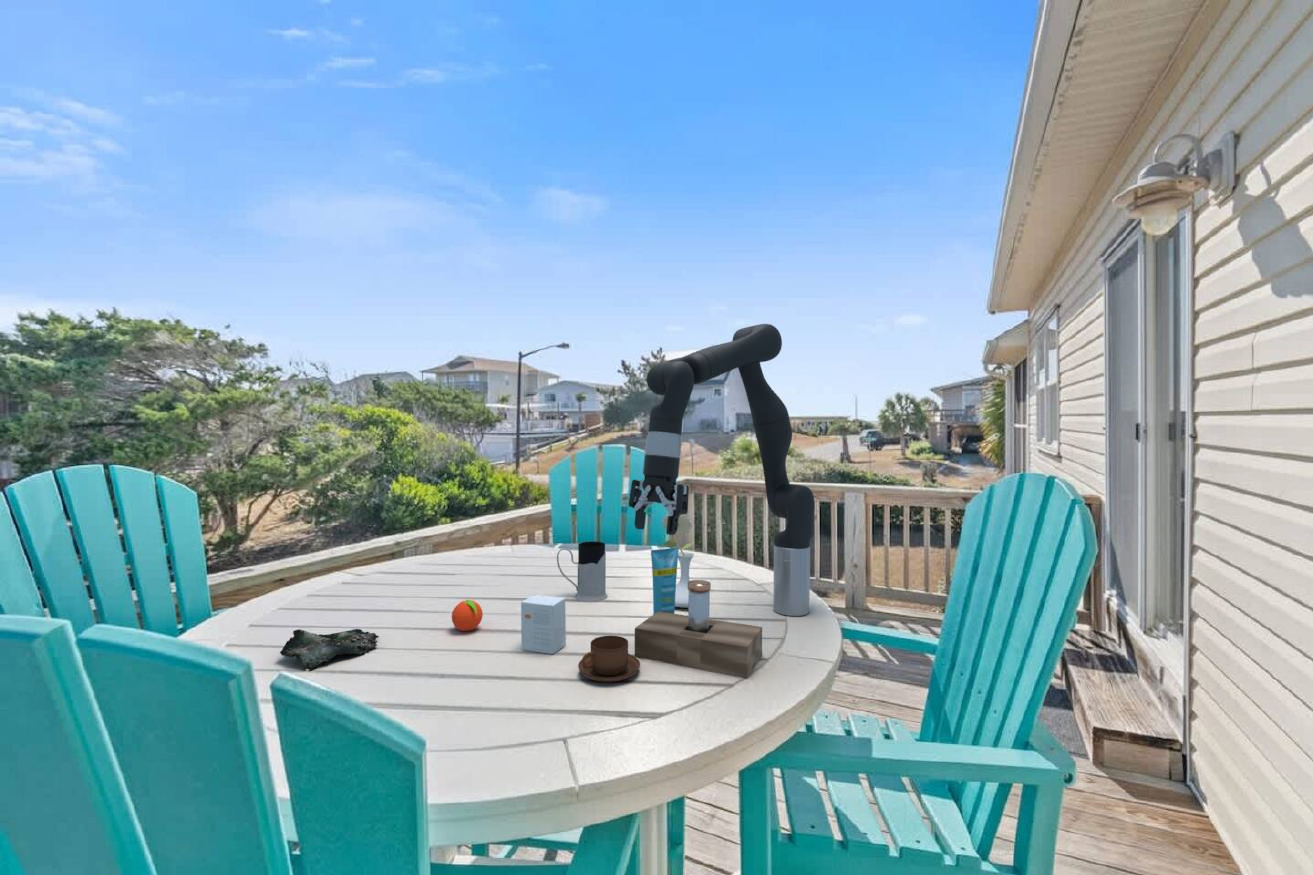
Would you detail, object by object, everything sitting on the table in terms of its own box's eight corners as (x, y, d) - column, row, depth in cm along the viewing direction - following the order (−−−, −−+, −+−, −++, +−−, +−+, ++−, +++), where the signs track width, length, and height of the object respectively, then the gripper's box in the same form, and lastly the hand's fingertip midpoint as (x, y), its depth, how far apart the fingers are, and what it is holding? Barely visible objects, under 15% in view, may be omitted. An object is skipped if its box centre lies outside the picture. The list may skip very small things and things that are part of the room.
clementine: (490, 631, 132) (490, 600, 132) (463, 639, 127) (463, 607, 127) (473, 622, 137) (473, 593, 137) (446, 630, 132) (446, 600, 132)
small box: (566, 645, 124) (566, 597, 123) (553, 655, 118) (553, 605, 118) (534, 640, 126) (534, 594, 126) (520, 650, 121) (520, 601, 121)
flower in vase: (713, 602, 154) (713, 511, 154) (693, 614, 145) (693, 517, 144) (672, 595, 161) (672, 508, 161) (650, 605, 152) (651, 512, 151)
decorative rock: (349, 614, 132) (397, 618, 126) (349, 641, 131) (397, 646, 126) (266, 637, 114) (319, 642, 109) (266, 668, 114) (318, 675, 108)
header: (657, 637, 129) (658, 611, 128) (761, 655, 119) (762, 627, 119) (634, 656, 118) (634, 628, 118) (746, 678, 108) (747, 647, 108)
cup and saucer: (616, 693, 102) (616, 659, 101) (565, 677, 108) (565, 645, 108) (651, 669, 112) (652, 638, 112) (603, 656, 118) (603, 627, 118)
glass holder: (605, 602, 155) (605, 547, 154) (553, 601, 155) (553, 547, 154) (608, 592, 163) (608, 541, 163) (559, 592, 163) (559, 540, 163)
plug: (691, 644, 121) (692, 578, 121) (713, 648, 119) (713, 581, 119) (683, 652, 117) (684, 584, 117) (705, 656, 115) (706, 587, 115)
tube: (656, 634, 130) (657, 551, 130) (645, 628, 135) (646, 547, 134) (682, 628, 135) (683, 548, 134) (671, 622, 139) (671, 544, 138)
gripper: (700, 458, 118) (692, 536, 116) (648, 454, 127) (641, 527, 126) (678, 454, 112) (670, 536, 111) (626, 451, 121) (617, 527, 120)
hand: (654, 531), depth 118 cm, fingers open, 8 cm apart
